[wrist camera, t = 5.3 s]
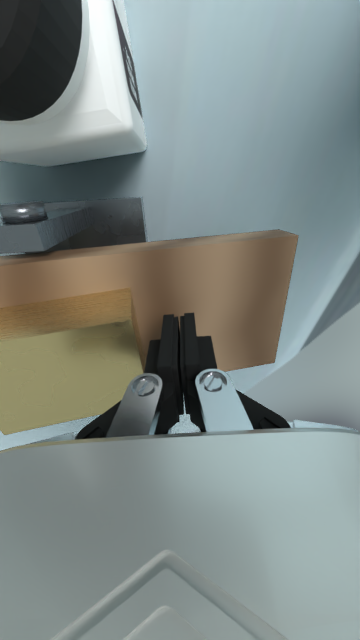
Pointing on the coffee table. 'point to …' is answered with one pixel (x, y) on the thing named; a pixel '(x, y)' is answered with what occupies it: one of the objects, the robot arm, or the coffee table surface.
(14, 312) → the slider
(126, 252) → the beam
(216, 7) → the coffee table surface
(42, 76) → the container
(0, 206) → the stand
